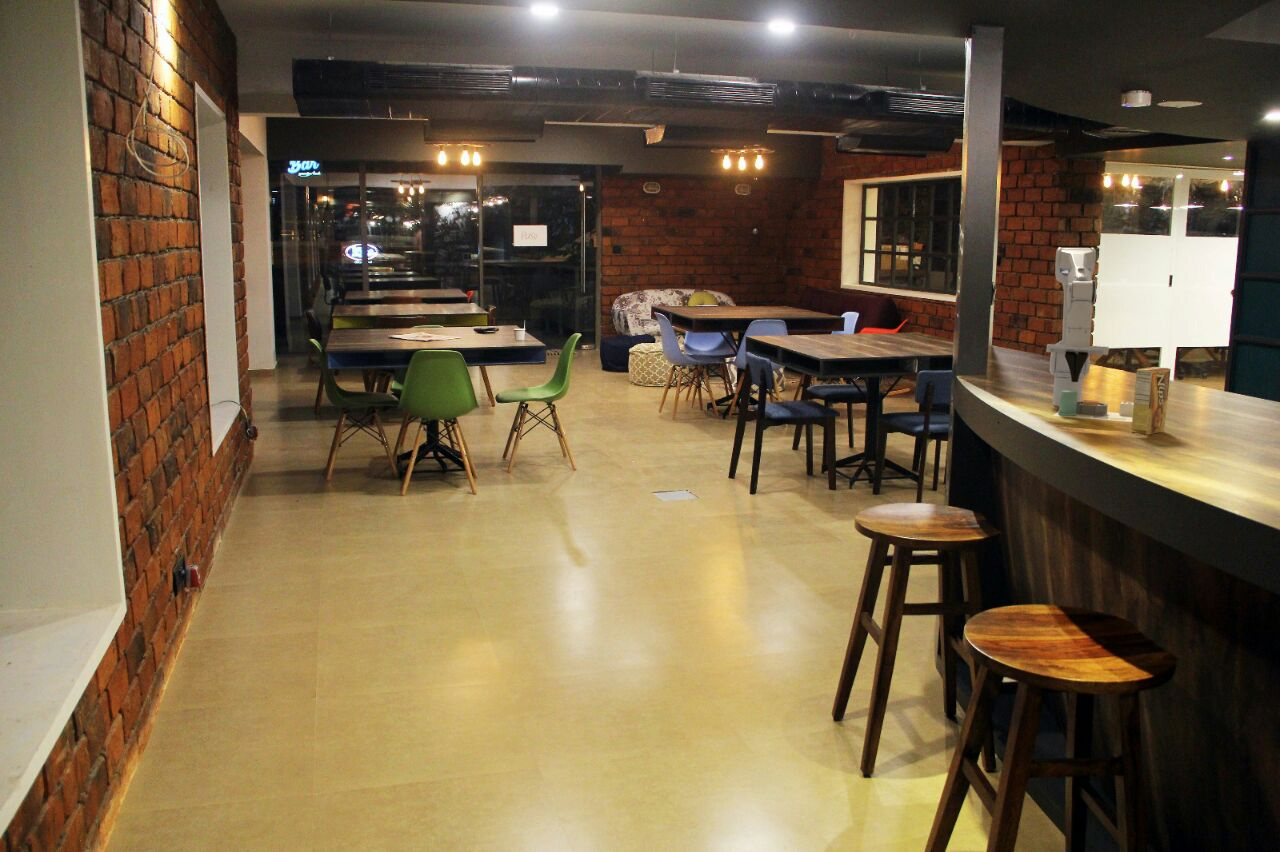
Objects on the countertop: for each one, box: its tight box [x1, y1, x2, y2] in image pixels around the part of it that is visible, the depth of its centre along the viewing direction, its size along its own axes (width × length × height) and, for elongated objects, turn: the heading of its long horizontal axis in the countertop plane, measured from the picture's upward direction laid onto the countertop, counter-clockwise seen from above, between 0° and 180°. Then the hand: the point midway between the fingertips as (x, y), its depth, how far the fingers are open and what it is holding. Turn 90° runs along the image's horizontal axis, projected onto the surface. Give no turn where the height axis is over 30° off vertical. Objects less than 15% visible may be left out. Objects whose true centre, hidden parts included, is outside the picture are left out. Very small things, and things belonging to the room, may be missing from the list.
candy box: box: [1131, 366, 1172, 436], centre depth 255 cm, size 9×4×15 cm, turn 129°
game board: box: [1052, 401, 1134, 423], centre depth 276 cm, size 15×22×4 cm
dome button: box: [1081, 399, 1100, 406], centre depth 280 cm, size 6×6×2 cm
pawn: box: [1057, 391, 1077, 416], centre depth 276 cm, size 4×4×6 cm
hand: (1074, 381), depth 276 cm, fingers closed
